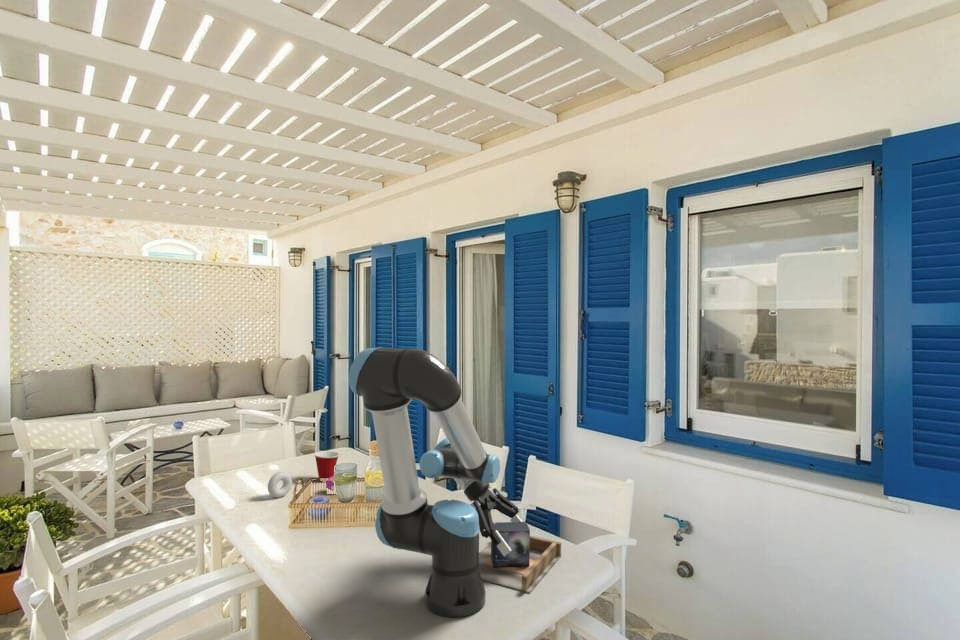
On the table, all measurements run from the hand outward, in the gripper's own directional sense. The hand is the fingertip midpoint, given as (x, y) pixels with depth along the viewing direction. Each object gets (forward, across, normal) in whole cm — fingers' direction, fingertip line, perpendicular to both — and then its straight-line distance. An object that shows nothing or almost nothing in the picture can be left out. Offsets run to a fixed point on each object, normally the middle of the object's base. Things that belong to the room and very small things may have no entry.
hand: (518, 544), depth 143 cm
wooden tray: (+3, 0, -6) cm, 7 cm away
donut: (-71, -6, -80) cm, 107 cm away
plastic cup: (-71, -31, -80) cm, 111 cm away
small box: (+2, 0, -6) cm, 6 cm away
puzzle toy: (-60, -21, -69) cm, 94 cm away
